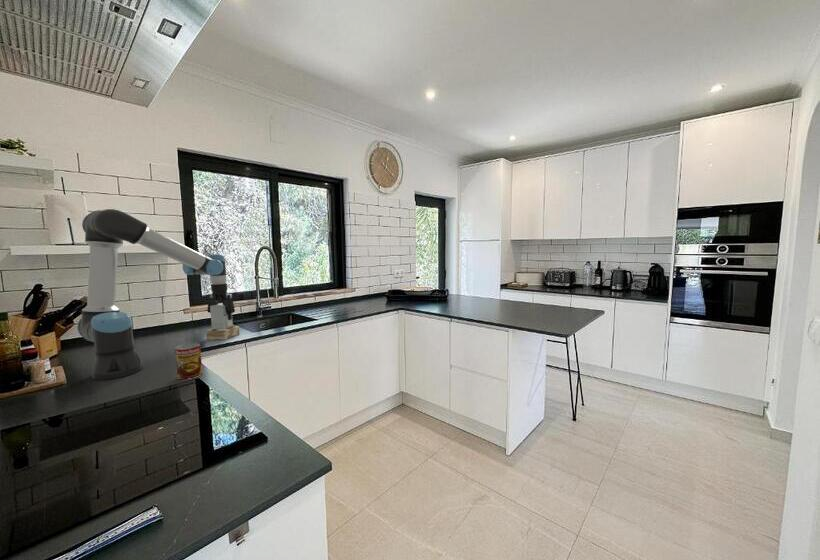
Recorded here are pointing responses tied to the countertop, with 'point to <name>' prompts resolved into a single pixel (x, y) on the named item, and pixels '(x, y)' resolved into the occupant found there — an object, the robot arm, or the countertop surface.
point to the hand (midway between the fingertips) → (222, 325)
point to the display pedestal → (222, 333)
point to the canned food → (188, 360)
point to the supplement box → (219, 317)
